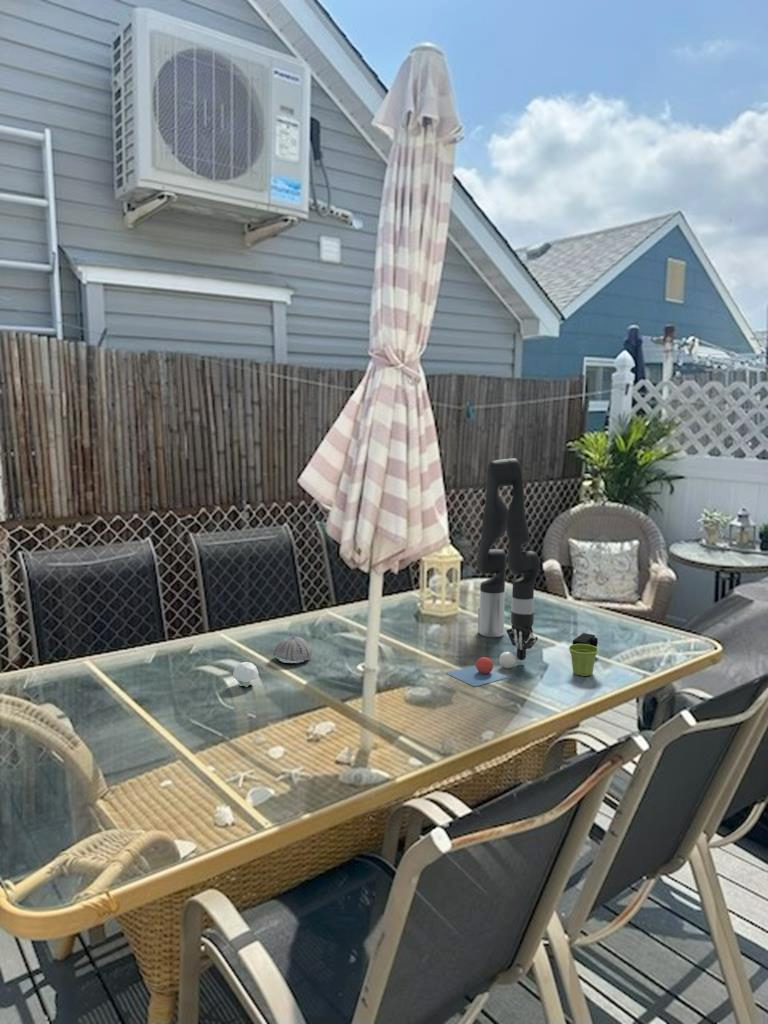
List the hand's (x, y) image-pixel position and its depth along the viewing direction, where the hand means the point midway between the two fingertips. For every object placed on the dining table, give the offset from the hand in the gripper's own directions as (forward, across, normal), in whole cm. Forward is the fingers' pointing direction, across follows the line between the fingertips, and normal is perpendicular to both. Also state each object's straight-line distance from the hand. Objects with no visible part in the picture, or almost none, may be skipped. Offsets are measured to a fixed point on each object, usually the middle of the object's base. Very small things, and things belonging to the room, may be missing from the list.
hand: (521, 659), depth 244 cm
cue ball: (-1, 0, -7) cm, 7 cm away
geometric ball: (+2, -34, -86) cm, 92 cm away
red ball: (-1, 0, -17) cm, 17 cm away
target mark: (+2, 0, -20) cm, 20 cm away
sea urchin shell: (+2, -48, -62) cm, 78 cm away
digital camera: (+2, +8, +24) cm, 25 cm away
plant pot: (+2, +18, +10) cm, 21 cm away
